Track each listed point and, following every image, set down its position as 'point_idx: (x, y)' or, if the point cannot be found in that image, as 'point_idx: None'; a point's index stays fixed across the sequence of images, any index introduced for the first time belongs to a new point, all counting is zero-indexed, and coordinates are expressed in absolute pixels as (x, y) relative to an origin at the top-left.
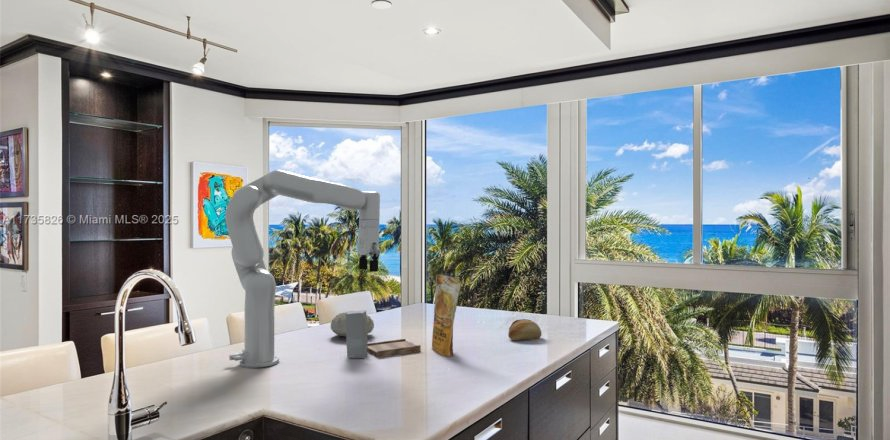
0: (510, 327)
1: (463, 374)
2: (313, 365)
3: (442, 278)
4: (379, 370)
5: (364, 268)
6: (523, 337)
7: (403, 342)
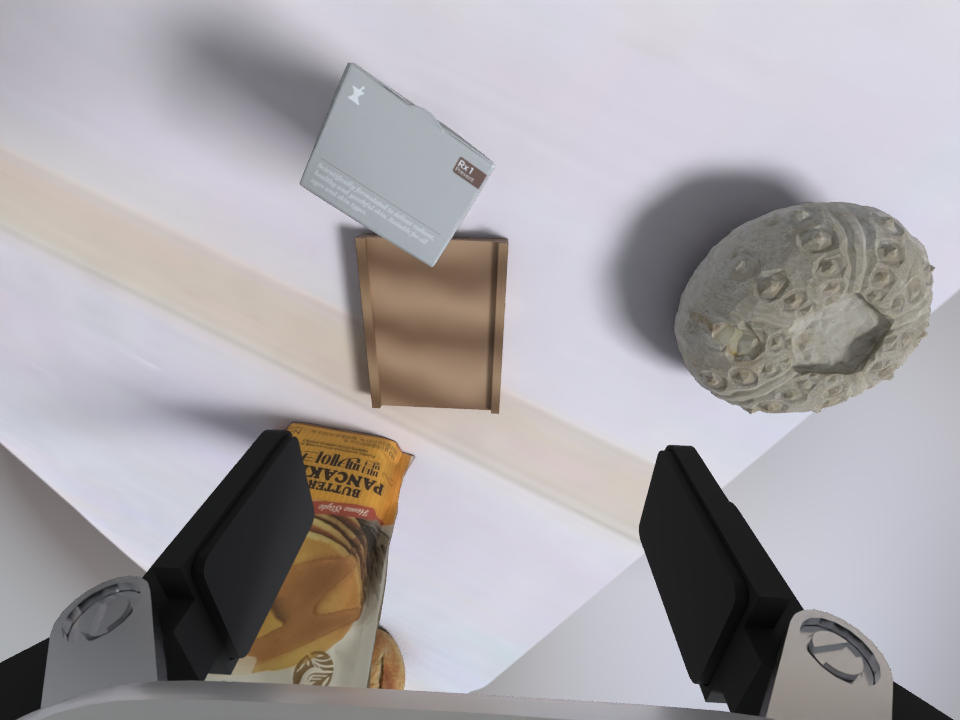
0: (384, 666)
1: (76, 364)
2: None
3: None
4: (180, 152)
5: (649, 509)
6: None
7: (468, 391)
